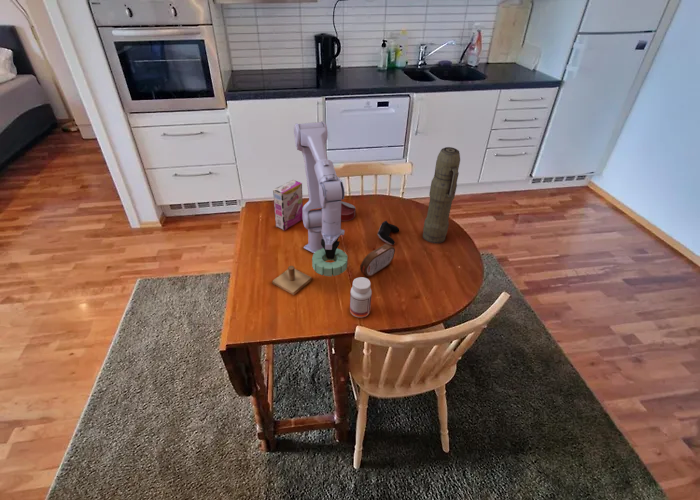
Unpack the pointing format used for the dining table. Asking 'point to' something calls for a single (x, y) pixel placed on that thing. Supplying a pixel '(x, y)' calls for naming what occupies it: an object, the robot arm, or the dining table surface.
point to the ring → (326, 267)
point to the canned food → (347, 211)
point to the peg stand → (292, 280)
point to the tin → (377, 259)
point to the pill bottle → (360, 297)
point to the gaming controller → (387, 232)
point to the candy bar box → (288, 204)
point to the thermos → (441, 195)
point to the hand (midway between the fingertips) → (331, 254)
